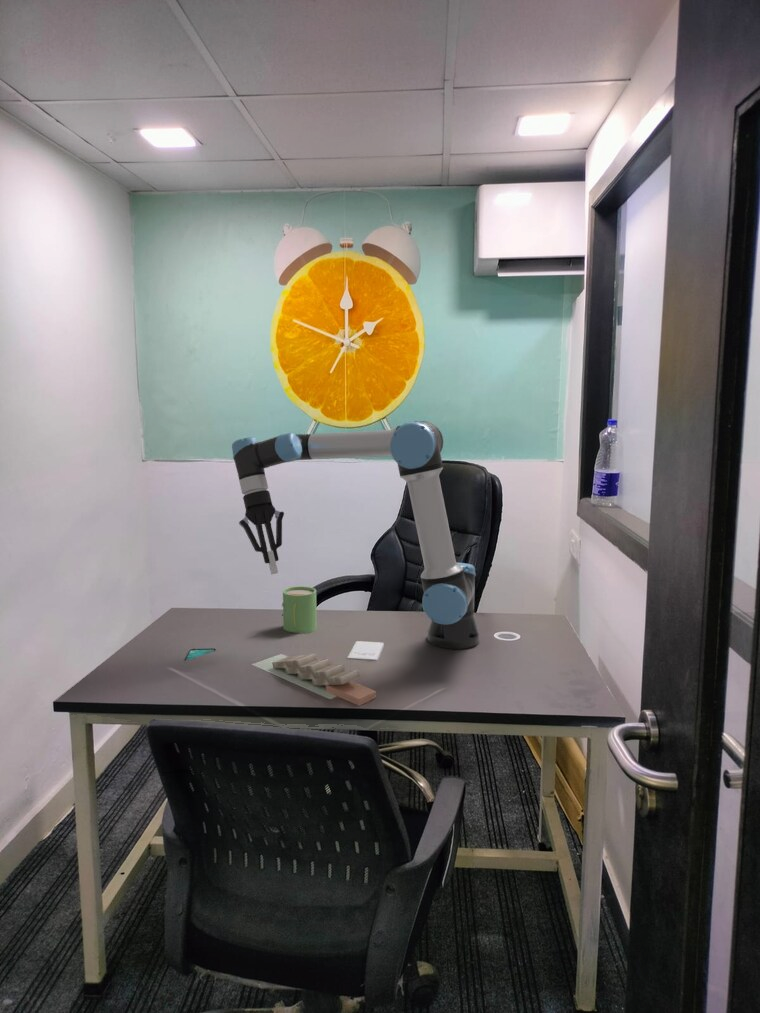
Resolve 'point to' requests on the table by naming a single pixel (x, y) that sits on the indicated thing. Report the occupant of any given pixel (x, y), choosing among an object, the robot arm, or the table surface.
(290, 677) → the board
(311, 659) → the domino
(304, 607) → the mug
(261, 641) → the table surface
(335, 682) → the domino
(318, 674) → the domino
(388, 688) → the table surface
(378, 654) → the external hard drive
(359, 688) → the domino
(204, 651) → the smartphone
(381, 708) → the table surface
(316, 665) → the domino
